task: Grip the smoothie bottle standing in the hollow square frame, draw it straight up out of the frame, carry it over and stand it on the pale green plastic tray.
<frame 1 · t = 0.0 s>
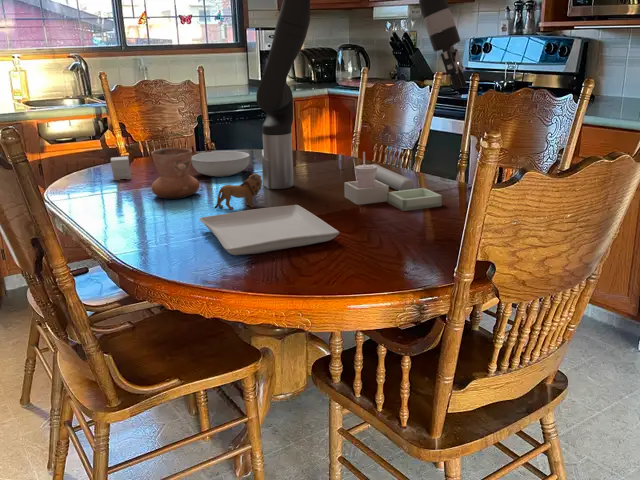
hand: (460, 87, 164), 31 cm above the table, tool tilted 20°, fingers open, 8 cm apart
lion figurine: (240, 207, 171), on the table
tube: (390, 187, 190), on the table
ceramic jug: (176, 196, 185), on the table
smoothie: (366, 199, 175), resting in hollow square frame
hollow square frame: (366, 198, 175), on the table
skincare box: (122, 179, 211), on the table
square plate: (267, 238, 144), on the table
tray: (413, 204, 168), on the table
serving bowl: (221, 175, 213), on the table
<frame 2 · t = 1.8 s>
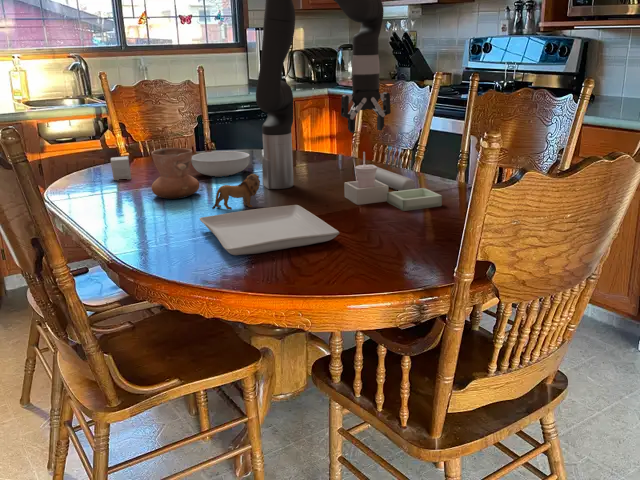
hand: (366, 131, 169), 20 cm above the table, tool pointing down, fingers open, 8 cm apart
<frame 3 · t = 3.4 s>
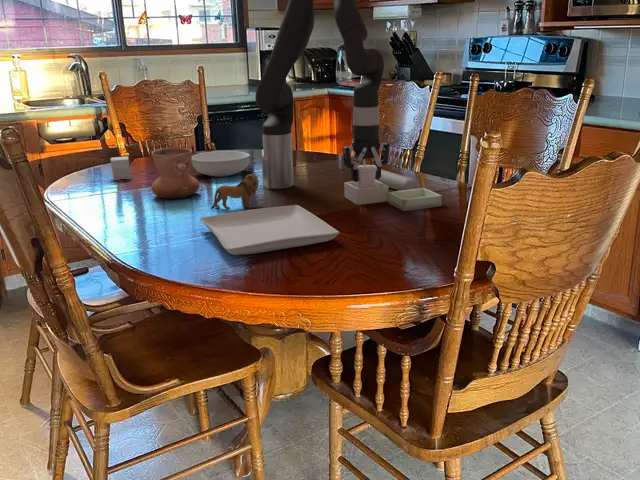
hand: (366, 180, 173), 6 cm above the table, tool pointing down, fingers closed on smoothie, 6 cm apart
smoothie: (366, 199, 175), resting in hollow square frame, touching gripper
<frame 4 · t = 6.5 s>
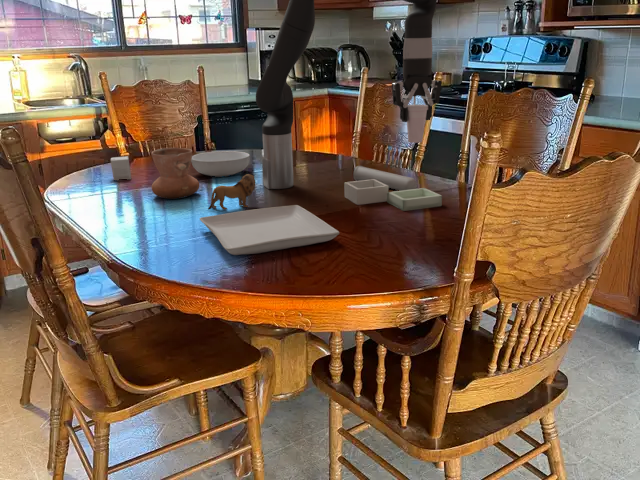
hand: (415, 120, 161), 23 cm above the table, tool pointing down, fingers closed on smoothie, 6 cm apart
smoothie: (415, 142, 163), point 18 cm above the table, touching gripper
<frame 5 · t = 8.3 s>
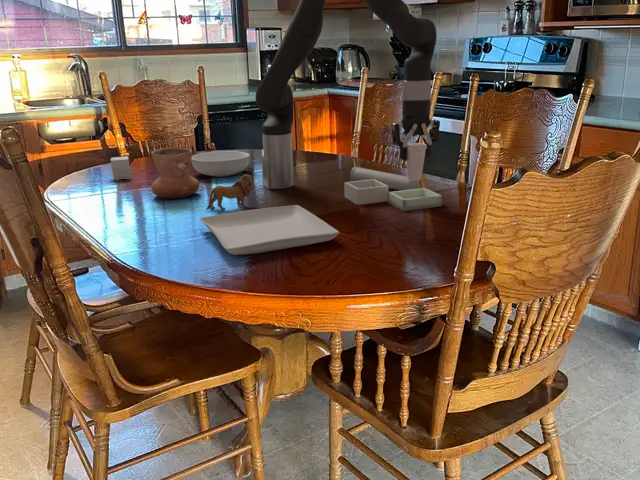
hand: (414, 159, 164), 13 cm above the table, tool pointing down, fingers closed on smoothie, 6 cm apart
smoothie: (414, 179, 166), point 7 cm above the table, touching gripper
when the fingers open (8 cm above the table, at t = 9.9 s): smoothie drops 1 cm, resting on tray.
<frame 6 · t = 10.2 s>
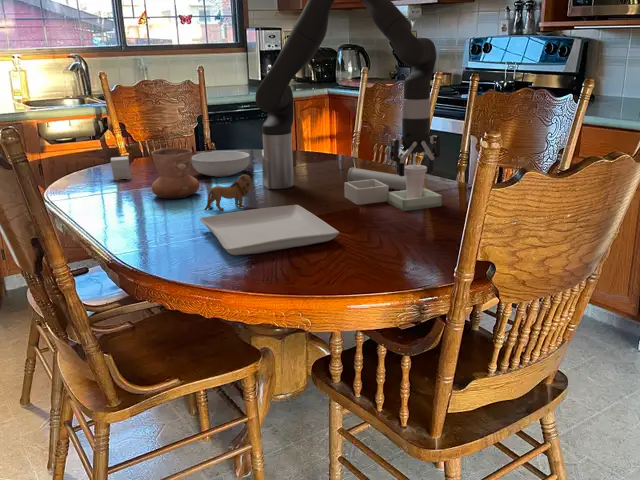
hand: (414, 174, 165), 9 cm above the table, tool pointing down, fingers open, 8 cm apart
smoothie: (413, 201, 168), point 1 cm above the table, touching tray
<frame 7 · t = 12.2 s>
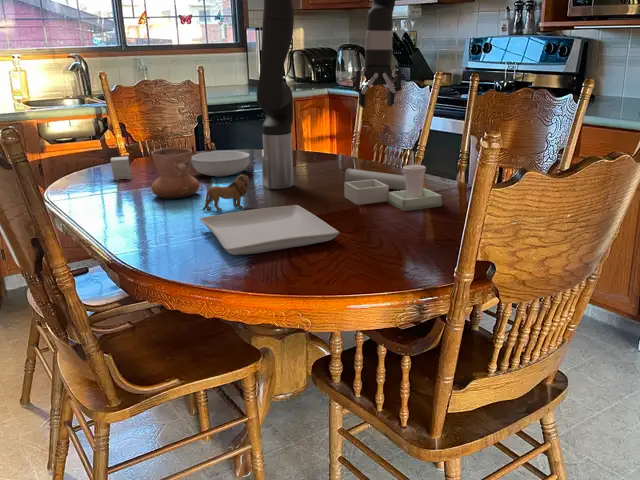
hand: (376, 106, 172), 26 cm above the table, tool pointing down, fingers open, 8 cm apart
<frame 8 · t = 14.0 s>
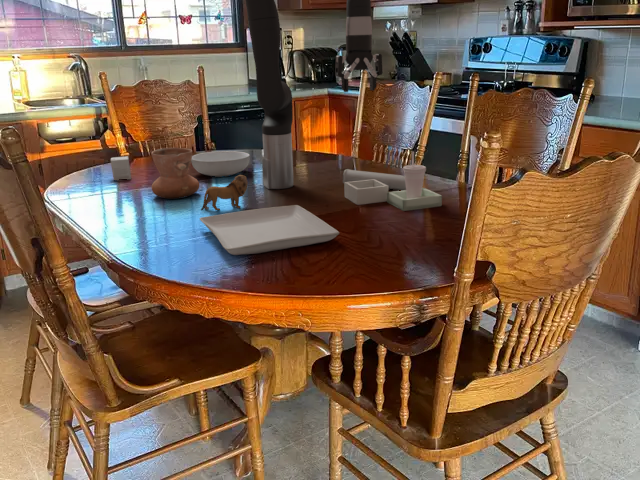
hand: (359, 91, 177), 30 cm above the table, tool pointing down, fingers open, 8 cm apart
at the end: smoothie inside the target area on the tray (0.1 cm from its centre), point 0.8 cm above the tray's base; smoothie tilted 0°; the gripper is holding nothing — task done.
